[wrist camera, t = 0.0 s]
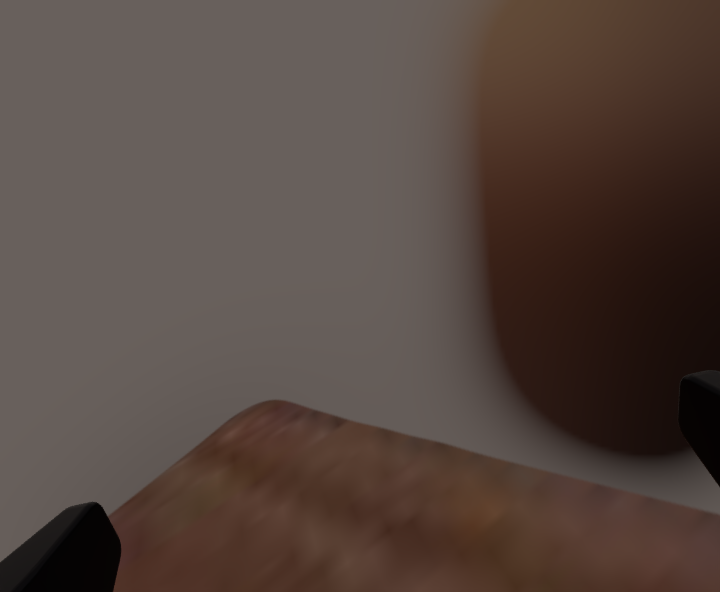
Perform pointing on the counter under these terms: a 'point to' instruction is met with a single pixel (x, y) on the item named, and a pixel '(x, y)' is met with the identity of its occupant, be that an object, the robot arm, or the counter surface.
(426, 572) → the counter surface
